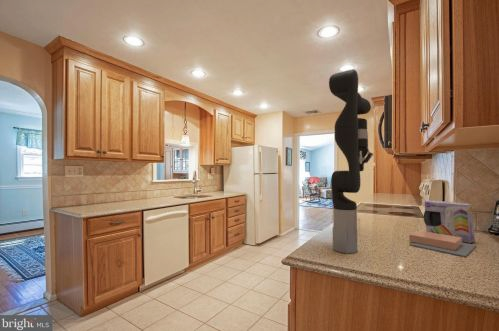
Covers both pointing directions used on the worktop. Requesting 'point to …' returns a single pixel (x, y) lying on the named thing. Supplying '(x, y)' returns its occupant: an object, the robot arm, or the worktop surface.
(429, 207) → the cake pan box
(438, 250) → the mat
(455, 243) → the tile
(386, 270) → the worktop surface
